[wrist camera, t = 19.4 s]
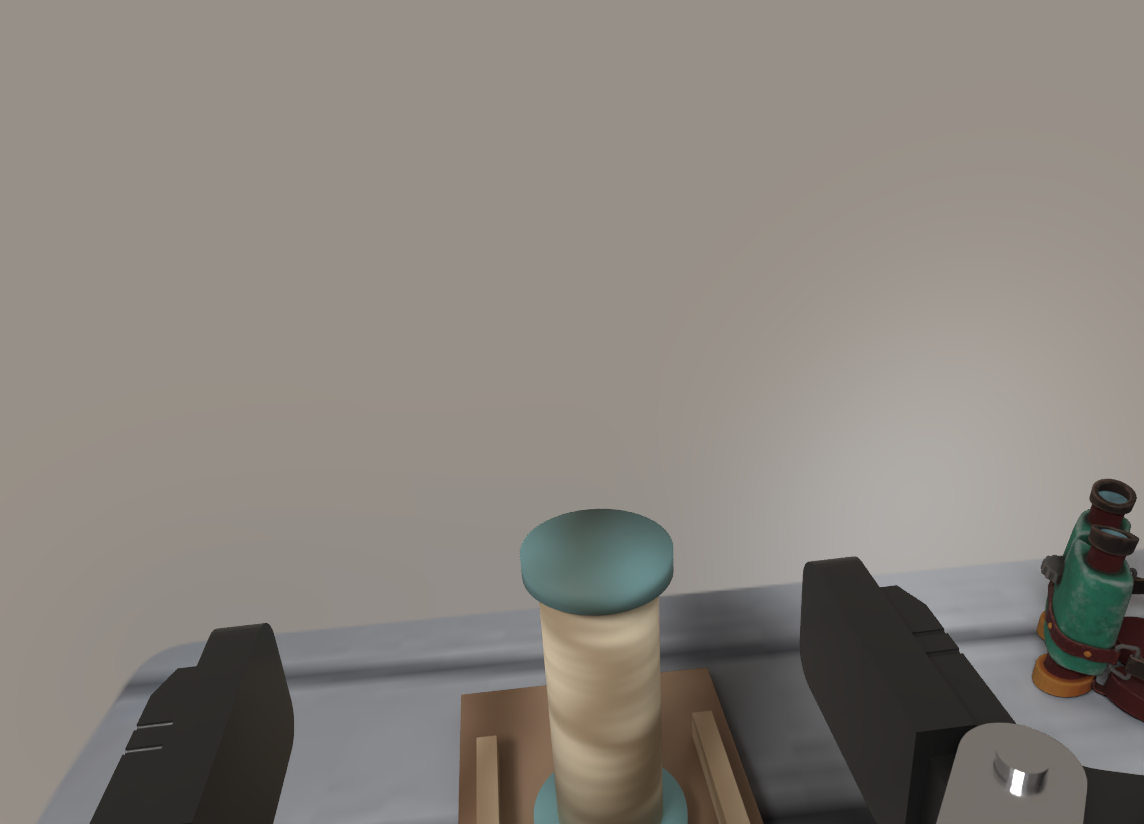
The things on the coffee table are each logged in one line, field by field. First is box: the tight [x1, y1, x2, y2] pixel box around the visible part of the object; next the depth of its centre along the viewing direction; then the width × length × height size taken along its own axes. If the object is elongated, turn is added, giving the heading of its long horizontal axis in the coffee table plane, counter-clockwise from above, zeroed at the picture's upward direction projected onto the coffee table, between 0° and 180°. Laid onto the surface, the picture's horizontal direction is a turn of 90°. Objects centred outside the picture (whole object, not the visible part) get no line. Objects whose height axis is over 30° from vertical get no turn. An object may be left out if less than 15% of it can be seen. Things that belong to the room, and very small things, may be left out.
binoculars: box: [1032, 479, 1144, 721], centre depth 48 cm, size 9×11×10 cm
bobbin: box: [520, 509, 688, 824], centre depth 38 cm, size 7×7×15 cm
